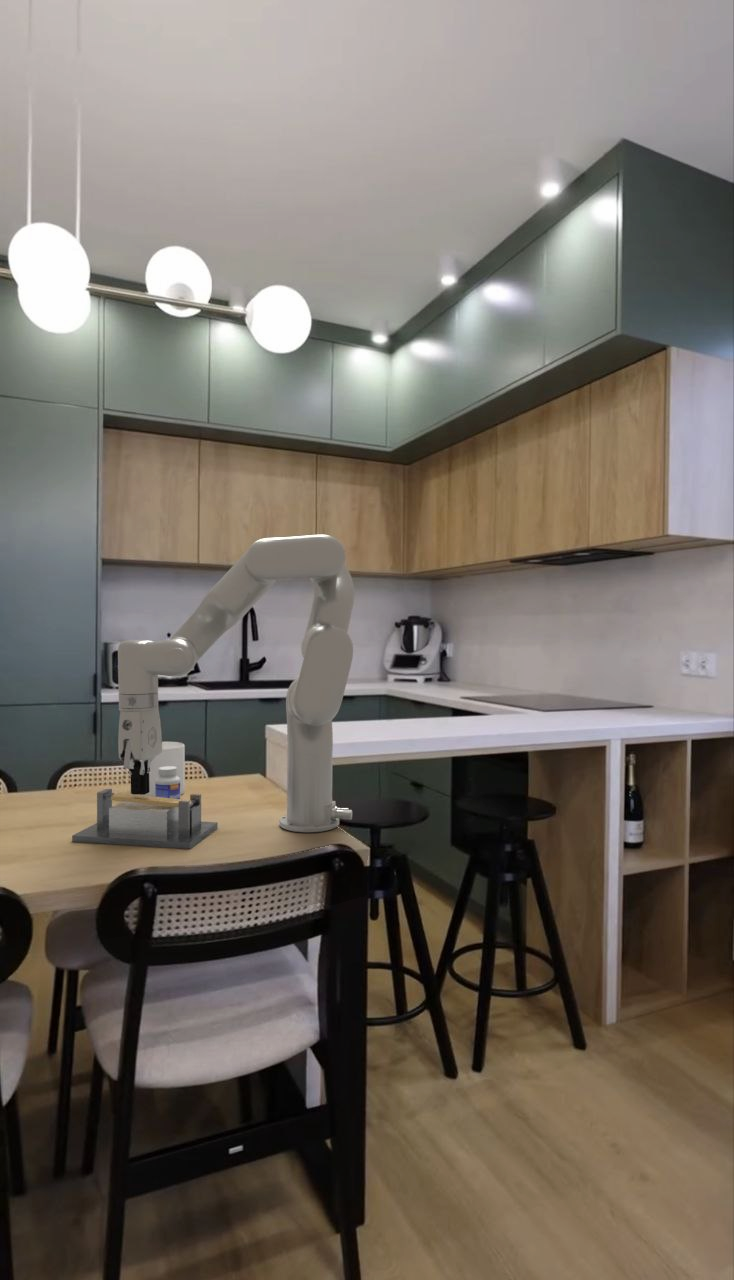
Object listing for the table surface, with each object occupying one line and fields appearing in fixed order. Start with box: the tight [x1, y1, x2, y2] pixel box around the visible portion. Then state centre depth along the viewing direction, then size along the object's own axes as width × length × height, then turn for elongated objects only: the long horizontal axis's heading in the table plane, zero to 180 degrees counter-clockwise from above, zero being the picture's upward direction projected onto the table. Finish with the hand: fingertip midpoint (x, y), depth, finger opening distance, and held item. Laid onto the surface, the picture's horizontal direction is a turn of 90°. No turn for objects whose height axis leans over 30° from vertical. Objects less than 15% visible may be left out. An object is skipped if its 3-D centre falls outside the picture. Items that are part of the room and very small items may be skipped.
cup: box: [145, 741, 186, 796], centre depth 178 cm, size 12×12×12 cm
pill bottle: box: [155, 766, 181, 799], centre depth 161 cm, size 5×5×10 cm
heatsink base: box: [71, 788, 219, 850], centre depth 143 cm, size 24×14×8 cm, turn 81°
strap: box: [111, 792, 196, 807], centre depth 143 cm, size 16×4×1 cm, turn 81°
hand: (140, 793), depth 143 cm, fingers closed
